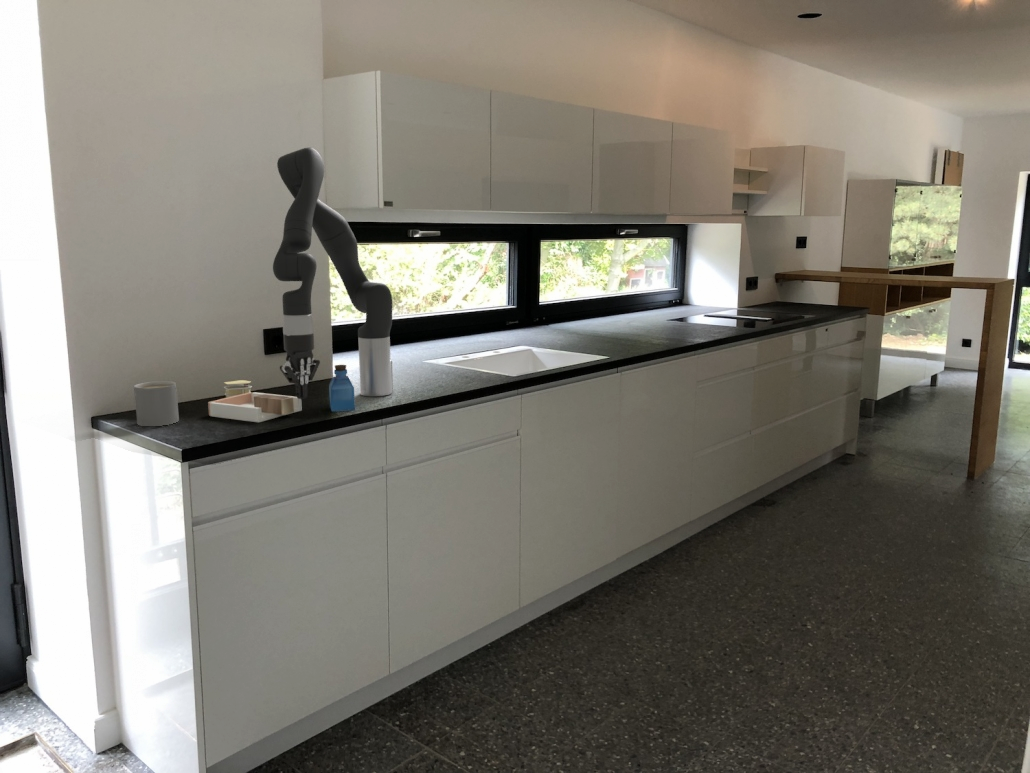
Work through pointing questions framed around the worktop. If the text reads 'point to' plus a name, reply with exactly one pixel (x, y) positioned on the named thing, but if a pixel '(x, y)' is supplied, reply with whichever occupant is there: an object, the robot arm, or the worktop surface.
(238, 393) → the glass food container
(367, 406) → the worktop surface
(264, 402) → the walnut block
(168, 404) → the coffee mug
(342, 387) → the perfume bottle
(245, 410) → the tray
